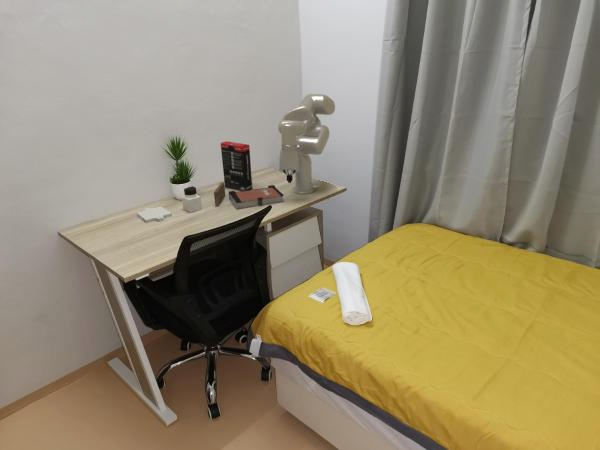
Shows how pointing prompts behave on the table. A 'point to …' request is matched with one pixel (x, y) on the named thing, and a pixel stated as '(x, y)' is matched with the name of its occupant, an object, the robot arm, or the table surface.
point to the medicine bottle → (191, 200)
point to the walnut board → (219, 194)
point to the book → (255, 197)
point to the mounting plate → (154, 214)
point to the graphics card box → (236, 165)
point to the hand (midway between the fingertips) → (289, 182)
